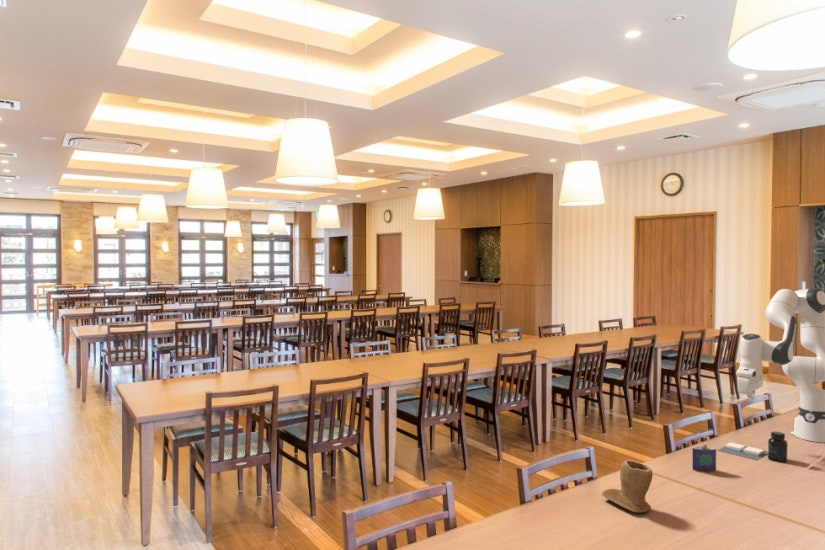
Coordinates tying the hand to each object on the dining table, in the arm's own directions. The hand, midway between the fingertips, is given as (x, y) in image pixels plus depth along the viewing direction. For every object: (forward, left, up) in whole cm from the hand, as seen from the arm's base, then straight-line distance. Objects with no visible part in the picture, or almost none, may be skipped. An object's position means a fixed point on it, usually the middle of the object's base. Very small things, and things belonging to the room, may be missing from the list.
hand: (750, 399), depth 250 cm
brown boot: (+101, -2, -22) cm, 103 cm away
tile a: (+8, +5, -20) cm, 22 cm away
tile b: (+8, -2, -20) cm, 22 cm away
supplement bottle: (+12, +15, -22) cm, 29 cm away
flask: (+47, 0, -22) cm, 52 cm away
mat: (+12, +2, -21) cm, 25 cm away
